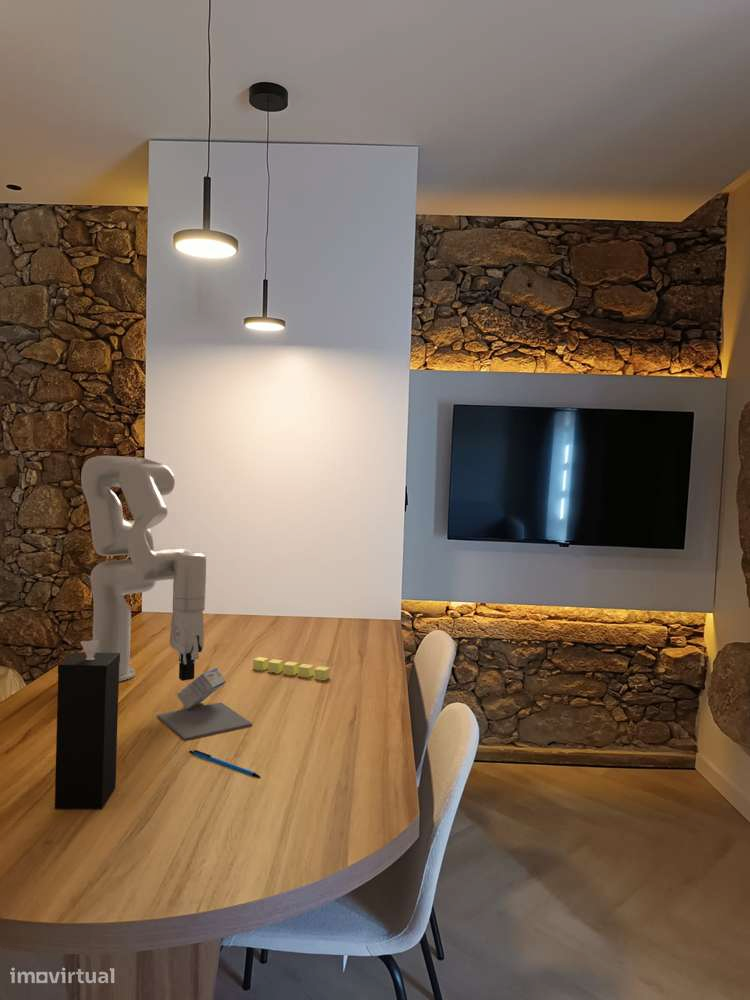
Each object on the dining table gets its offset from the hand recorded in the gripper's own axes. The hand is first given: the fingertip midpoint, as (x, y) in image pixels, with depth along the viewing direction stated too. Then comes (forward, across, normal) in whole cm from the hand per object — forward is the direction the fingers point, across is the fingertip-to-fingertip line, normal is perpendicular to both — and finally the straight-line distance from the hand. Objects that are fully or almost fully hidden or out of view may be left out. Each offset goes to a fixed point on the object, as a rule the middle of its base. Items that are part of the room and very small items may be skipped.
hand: (186, 678), depth 163 cm
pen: (+8, +34, -6) cm, 35 cm away
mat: (+7, +11, 0) cm, 13 cm away
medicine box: (+5, 0, 0) cm, 5 cm away
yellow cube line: (+8, -12, +37) cm, 40 cm away
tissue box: (+7, +34, -32) cm, 47 cm away
